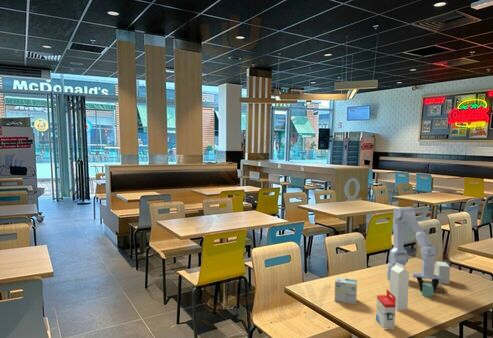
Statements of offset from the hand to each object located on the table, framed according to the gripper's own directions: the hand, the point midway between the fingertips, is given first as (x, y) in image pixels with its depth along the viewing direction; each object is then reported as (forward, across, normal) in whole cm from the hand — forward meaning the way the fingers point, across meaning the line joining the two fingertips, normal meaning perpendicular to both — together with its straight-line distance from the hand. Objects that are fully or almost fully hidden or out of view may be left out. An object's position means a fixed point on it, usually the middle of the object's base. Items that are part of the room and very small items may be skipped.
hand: (426, 291), depth 181 cm
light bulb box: (+2, -42, -20) cm, 47 cm away
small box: (+2, +13, +22) cm, 25 cm away
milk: (+2, -17, -20) cm, 26 cm away
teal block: (+1, 0, 0) cm, 1 cm away
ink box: (+2, -25, -39) cm, 46 cm away
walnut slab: (+2, +5, +9) cm, 10 cm away
